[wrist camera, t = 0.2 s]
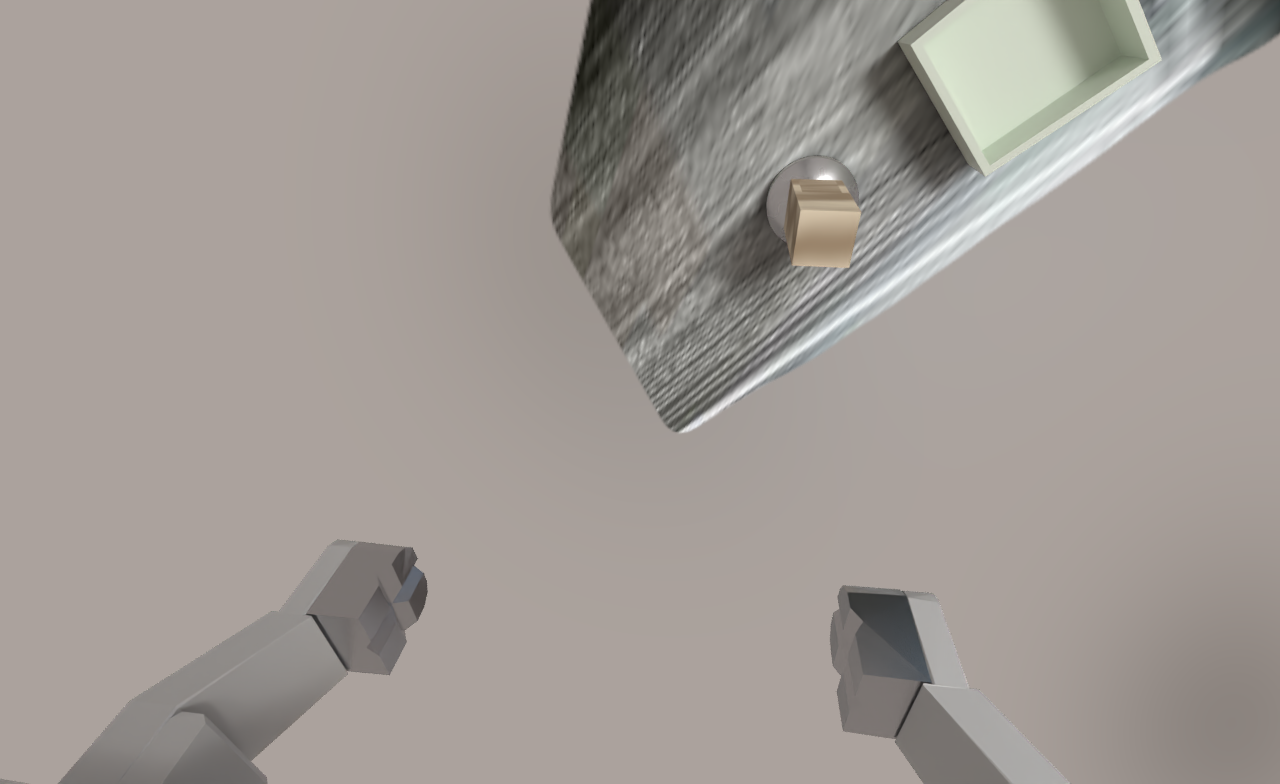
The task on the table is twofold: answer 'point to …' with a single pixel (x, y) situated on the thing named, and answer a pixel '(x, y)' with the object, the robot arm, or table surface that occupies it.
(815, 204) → the tan rectangular block
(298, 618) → the robot arm
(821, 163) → the grey pot lid
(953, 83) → the bin
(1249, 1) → the table surface
